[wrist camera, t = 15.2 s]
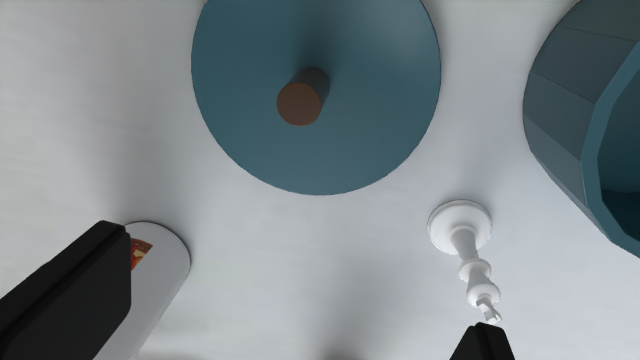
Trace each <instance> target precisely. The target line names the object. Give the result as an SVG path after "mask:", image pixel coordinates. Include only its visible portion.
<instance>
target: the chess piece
mask: <svg viewBox="0 0 640 360" xmlns="http://www.w3.org/2000/svg"><path fill="white" fill-rule="evenodd" d="M427 231H428V235H429V237H430V239H431V241H432V243H433V244H434V245H435V246H436V247H437V248H438V249H439V250H441V251H443V252H445V253H448V254H452V255H460V257H461V259H462V261H463V263H462V264H461V265H460V266H459V269H458V274H459V276H460V278H461V279H462V280H463V281H464V282H466V283H468V288H467V294H466V296H467V300H468V302H469V303H470V304H471V305H472V306H474V307H477V308H479V309H480V310H481V311H483V312H484V314H485V317H486V320H487V321H488V322H489V323H490V324H491V325H493V324H495V323H496V322H498V321H500V320H501V319H502V318H501V316H500V313H498V312H497V311H496V310H495V309H494V308H493V306H494V305H495V304H497V303H498V301H499V300H500V297H501V293H500V290H499V289H498V287H497V286H496V285H495V284H494V283H493V282H491V281H490V280H489V277H490V275H491V266H490V264H489V263H488V262H487V261H485V260H483V259H480V258H478V254H477V250H479V249H480V248H481V247H483V246H484V245H485V244H486V243H487V241H488V240H489V238H490V235H491V232H492V224H491V219H490V216H489V214H488V212H487V211H486V210H485V209H484V208H483V207H482V206H480V205H479V204H477V203H475V202H472V201H467V200H455V201H451V202H448V203H445V204H443V205H441V206H440V207H438V208H437V209H436V210H435V211H434V212H433V213H432V215H431V216H430V218H429V221H428V225H427Z"/></svg>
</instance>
